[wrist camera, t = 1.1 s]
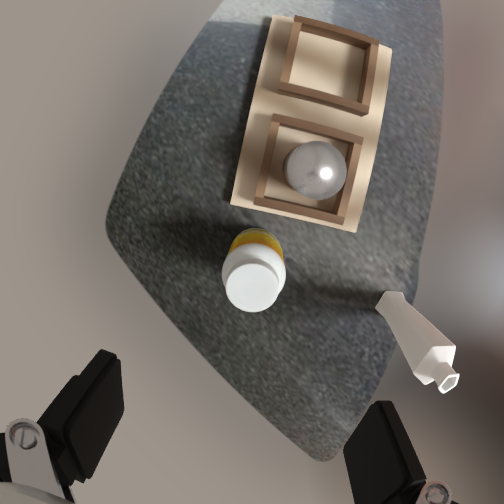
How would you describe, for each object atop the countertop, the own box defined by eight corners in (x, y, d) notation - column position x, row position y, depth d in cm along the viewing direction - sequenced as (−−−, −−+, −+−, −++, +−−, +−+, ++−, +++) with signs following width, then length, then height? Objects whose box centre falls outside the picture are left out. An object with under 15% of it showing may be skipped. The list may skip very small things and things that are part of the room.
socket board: (273, 18, 23) (273, 5, 20) (388, 51, 23) (399, 43, 20) (231, 202, 29) (227, 207, 26) (352, 230, 30) (361, 237, 27)
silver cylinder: (288, 139, 26) (294, 133, 21) (335, 152, 26) (352, 149, 21) (277, 186, 28) (281, 192, 22) (324, 197, 28) (339, 206, 22)
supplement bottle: (282, 274, 31) (289, 319, 22) (232, 276, 32) (220, 322, 23) (280, 225, 30) (287, 253, 21) (228, 228, 30) (212, 257, 21)
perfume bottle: (372, 291, 32) (429, 372, 17) (404, 283, 31) (473, 355, 17) (372, 324, 33) (420, 410, 19) (403, 316, 32) (461, 393, 18)
